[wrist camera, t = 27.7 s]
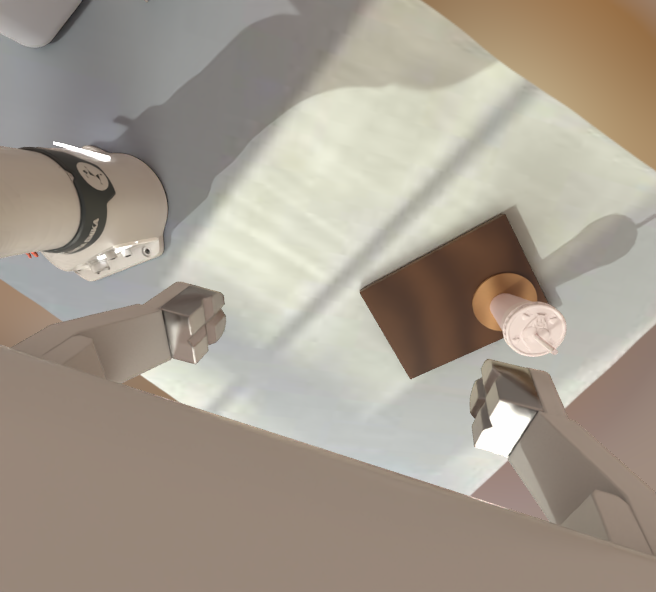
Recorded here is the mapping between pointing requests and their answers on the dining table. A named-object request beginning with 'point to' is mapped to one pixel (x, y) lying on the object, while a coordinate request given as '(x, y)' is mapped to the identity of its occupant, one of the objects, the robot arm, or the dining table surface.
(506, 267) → the serving board
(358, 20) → the dining table surface
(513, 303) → the smoothie
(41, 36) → the plastic bottle
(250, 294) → the dining table surface
